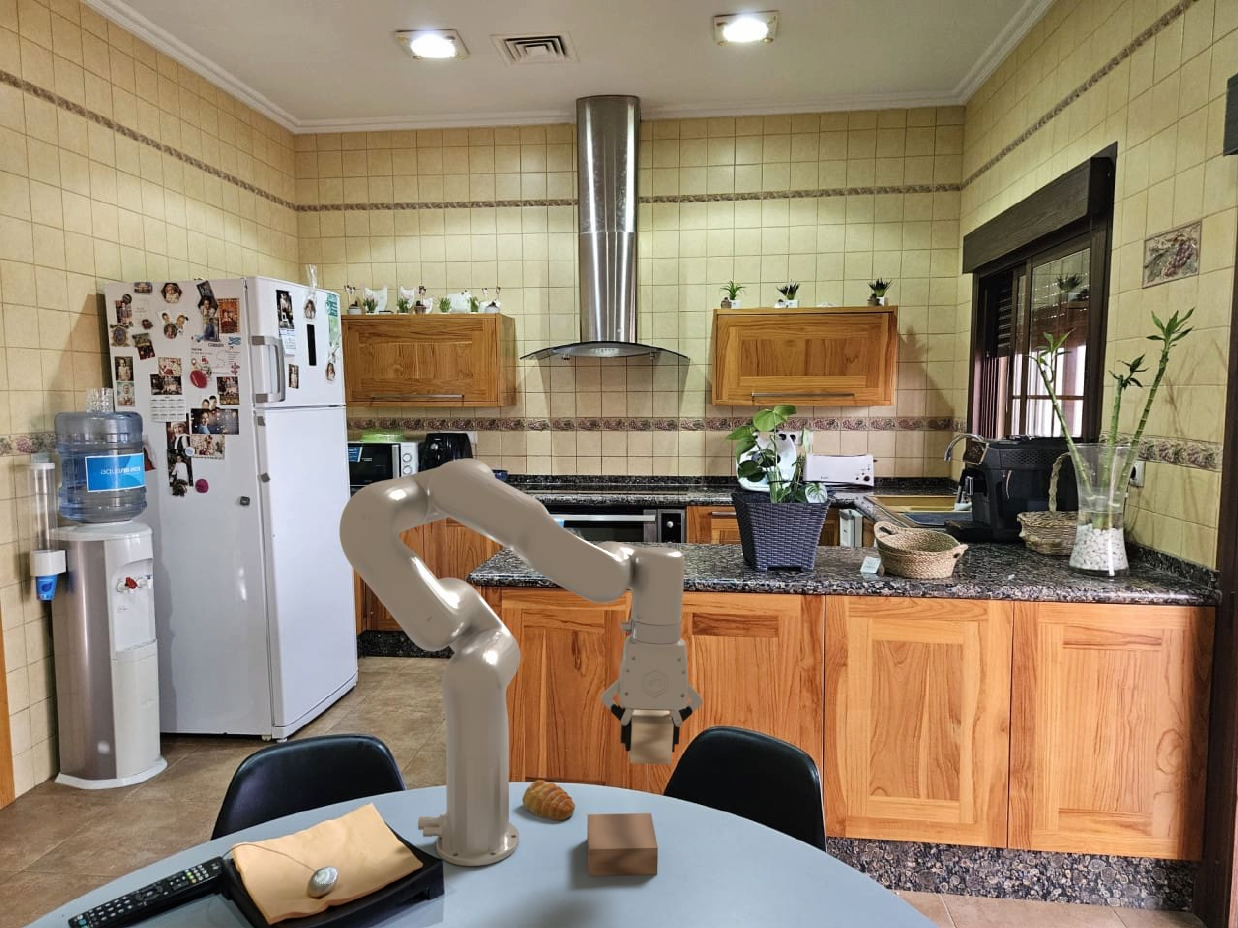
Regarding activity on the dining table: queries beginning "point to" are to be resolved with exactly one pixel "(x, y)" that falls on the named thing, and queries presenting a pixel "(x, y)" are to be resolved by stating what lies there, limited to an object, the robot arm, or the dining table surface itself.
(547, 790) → the pastry
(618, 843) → the walnut base
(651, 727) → the maple cube
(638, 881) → the dining table surface
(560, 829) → the dining table surface
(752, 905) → the dining table surface
